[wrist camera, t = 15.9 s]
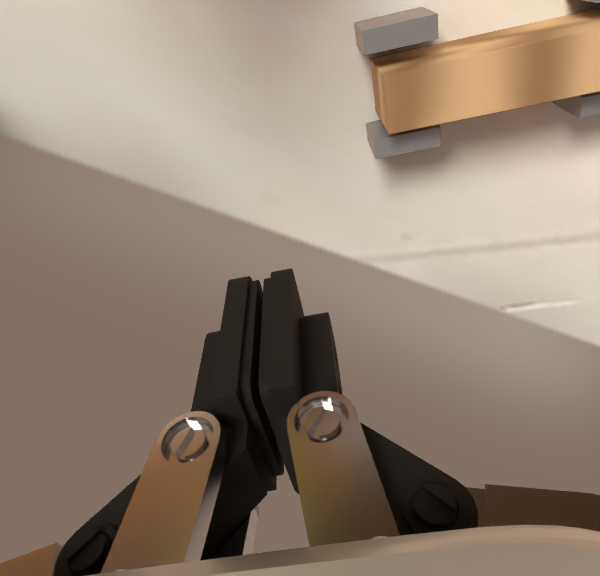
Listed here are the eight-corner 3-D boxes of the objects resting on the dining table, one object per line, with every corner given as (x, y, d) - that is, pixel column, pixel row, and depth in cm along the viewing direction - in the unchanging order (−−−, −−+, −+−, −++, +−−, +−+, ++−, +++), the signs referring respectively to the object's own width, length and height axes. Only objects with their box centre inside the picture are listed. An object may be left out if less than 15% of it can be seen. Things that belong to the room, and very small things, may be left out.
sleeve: (367, 140, 32) (375, 159, 29) (354, 22, 27) (361, 30, 25) (426, 128, 31) (440, 146, 28) (422, 7, 27) (437, 13, 24)
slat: (375, 110, 31) (388, 134, 27) (369, 58, 29) (383, 75, 25) (627, 56, 29) (682, 74, 25) (639, -2, 27) (700, 7, 23)
